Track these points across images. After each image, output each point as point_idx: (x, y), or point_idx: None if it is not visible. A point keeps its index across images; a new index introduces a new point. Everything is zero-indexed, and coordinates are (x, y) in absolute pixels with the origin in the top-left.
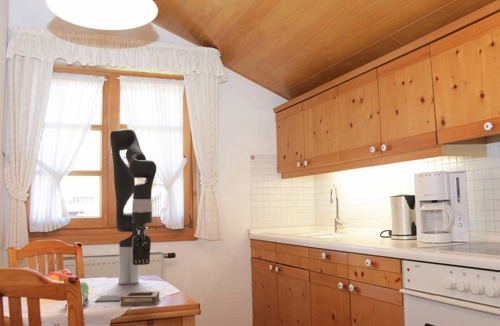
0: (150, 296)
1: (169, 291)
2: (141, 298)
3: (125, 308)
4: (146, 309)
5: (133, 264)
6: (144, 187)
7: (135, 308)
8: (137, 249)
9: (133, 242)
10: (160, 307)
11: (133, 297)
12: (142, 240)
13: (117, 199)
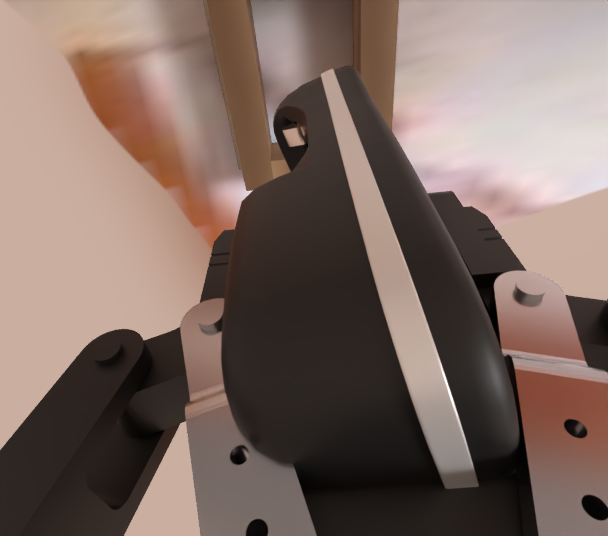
0: (245, 163)
1: (573, 165)
2: (228, 112)
3: (135, 23)
4: (146, 152)
5: (282, 101)
6: None
7: (151, 88)
8: None
9: (237, 277)
10: (200, 204)
11: (220, 59)
12: (112, 472)
13: None
